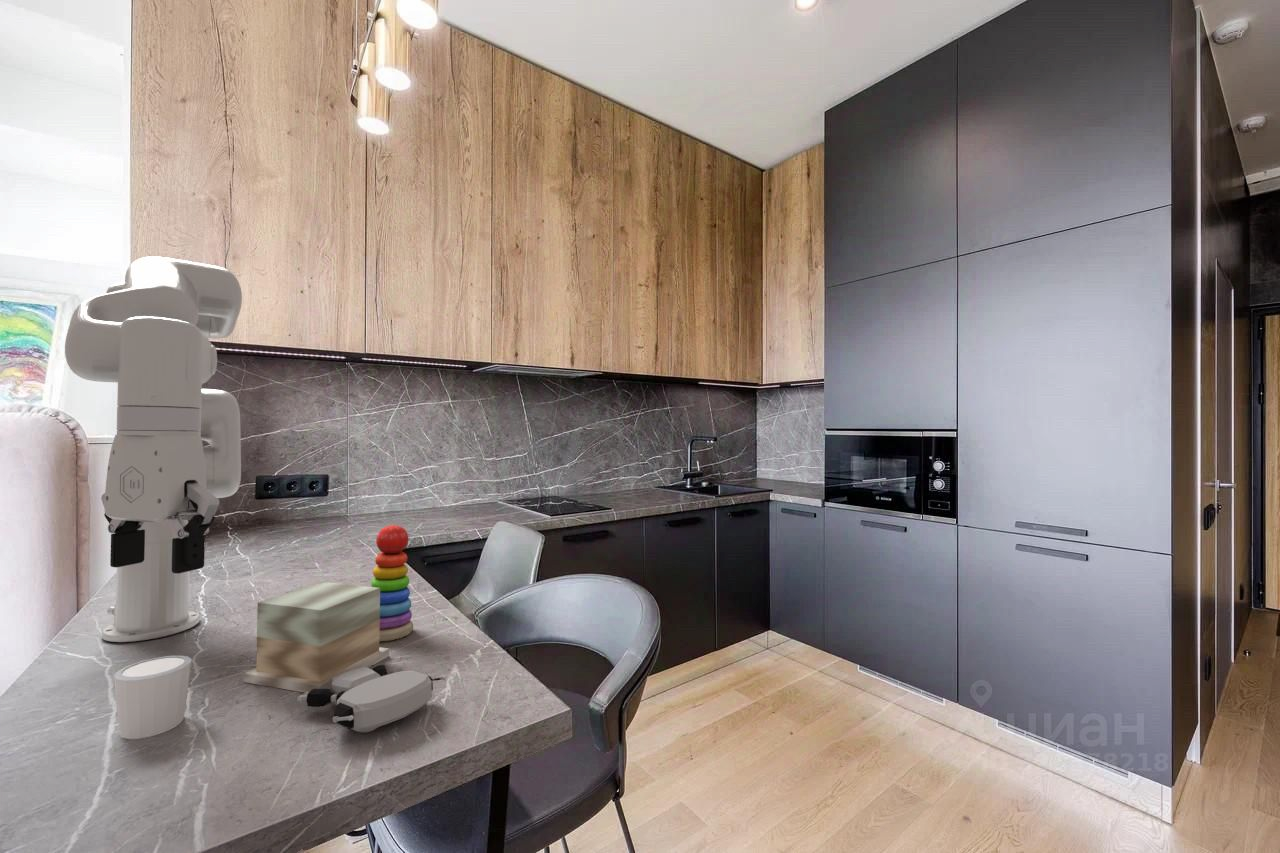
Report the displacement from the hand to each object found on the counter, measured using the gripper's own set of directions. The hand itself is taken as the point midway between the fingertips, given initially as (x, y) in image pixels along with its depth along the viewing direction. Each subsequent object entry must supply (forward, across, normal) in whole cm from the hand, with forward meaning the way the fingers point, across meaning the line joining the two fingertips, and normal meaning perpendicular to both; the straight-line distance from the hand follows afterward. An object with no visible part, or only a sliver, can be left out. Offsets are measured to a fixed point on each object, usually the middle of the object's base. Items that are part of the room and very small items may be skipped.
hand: (157, 567), depth 64 cm
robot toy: (+19, +22, +10) cm, 31 cm away
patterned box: (+18, +6, +18) cm, 26 cm away
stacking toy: (+19, +6, +32) cm, 38 cm away
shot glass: (+19, 0, 0) cm, 19 cm away
